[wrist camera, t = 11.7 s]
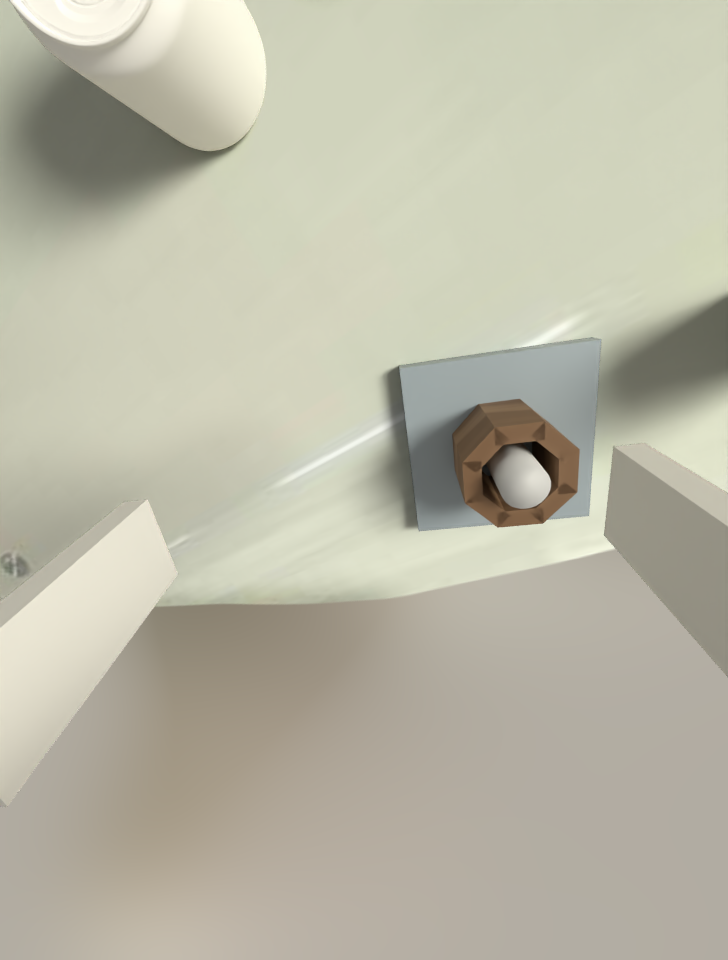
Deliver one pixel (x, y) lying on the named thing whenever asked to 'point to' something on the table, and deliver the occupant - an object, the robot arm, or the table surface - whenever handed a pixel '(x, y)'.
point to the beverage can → (163, 60)
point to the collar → (509, 426)
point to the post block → (517, 474)
